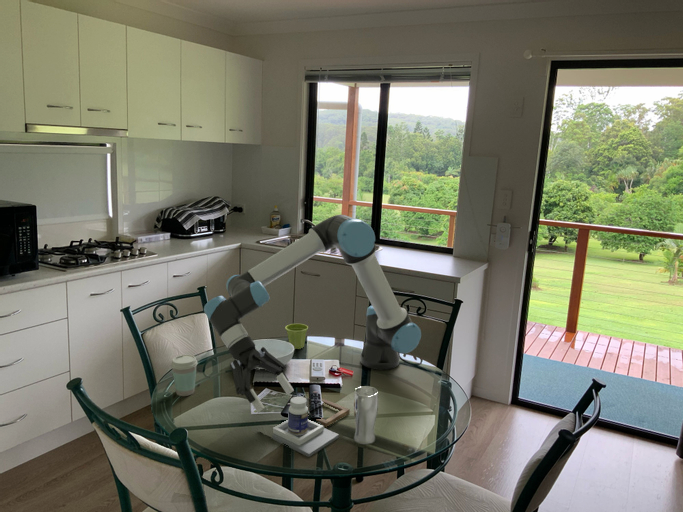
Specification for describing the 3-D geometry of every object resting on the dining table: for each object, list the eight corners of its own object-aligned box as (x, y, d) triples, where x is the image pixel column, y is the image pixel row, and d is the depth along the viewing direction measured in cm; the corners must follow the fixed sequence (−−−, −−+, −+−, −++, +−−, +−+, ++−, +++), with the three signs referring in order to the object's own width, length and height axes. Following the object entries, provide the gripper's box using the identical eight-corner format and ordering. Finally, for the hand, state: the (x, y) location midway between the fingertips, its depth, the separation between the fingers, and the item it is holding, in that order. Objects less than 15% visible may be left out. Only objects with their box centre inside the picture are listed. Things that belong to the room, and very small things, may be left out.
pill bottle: (304, 437, 154) (305, 405, 152) (285, 435, 155) (286, 403, 153) (309, 427, 160) (310, 396, 158) (291, 425, 161) (291, 394, 159)
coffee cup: (190, 384, 188) (189, 352, 186) (203, 392, 182) (202, 359, 180) (167, 391, 182) (165, 358, 180) (179, 400, 176) (178, 366, 174)
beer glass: (351, 432, 160) (352, 385, 156) (374, 432, 160) (376, 385, 157) (353, 445, 153) (355, 396, 150) (378, 445, 153) (380, 396, 150)
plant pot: (280, 347, 224) (280, 327, 222) (295, 341, 231) (295, 321, 229) (297, 353, 218) (297, 332, 216) (312, 346, 226) (312, 326, 224)
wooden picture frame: (321, 402, 178) (321, 398, 177) (349, 413, 171) (349, 409, 170) (297, 415, 169) (297, 411, 168) (326, 427, 162) (326, 423, 162)
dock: (288, 415, 169) (288, 407, 168) (338, 437, 157) (339, 429, 156) (258, 431, 159) (258, 424, 158) (309, 457, 147) (309, 448, 146)
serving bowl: (304, 362, 210) (305, 345, 208) (271, 381, 192) (271, 363, 191) (262, 350, 220) (262, 334, 219) (227, 368, 202) (226, 350, 201)
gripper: (259, 337, 177) (295, 391, 172) (201, 361, 157) (240, 424, 152) (271, 324, 173) (308, 380, 169) (214, 348, 153) (255, 412, 148)
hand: (276, 401), depth 160 cm, fingers open, 13 cm apart
